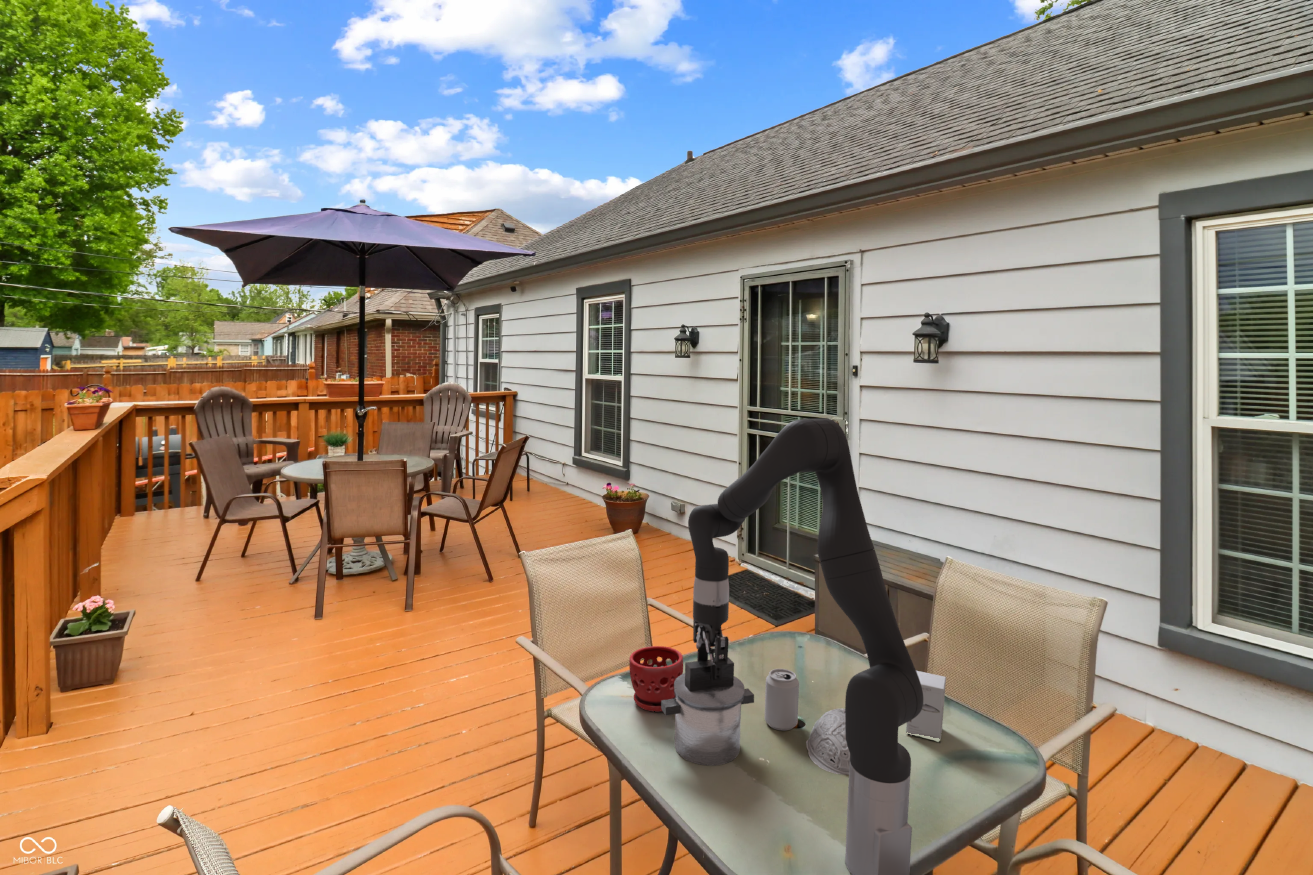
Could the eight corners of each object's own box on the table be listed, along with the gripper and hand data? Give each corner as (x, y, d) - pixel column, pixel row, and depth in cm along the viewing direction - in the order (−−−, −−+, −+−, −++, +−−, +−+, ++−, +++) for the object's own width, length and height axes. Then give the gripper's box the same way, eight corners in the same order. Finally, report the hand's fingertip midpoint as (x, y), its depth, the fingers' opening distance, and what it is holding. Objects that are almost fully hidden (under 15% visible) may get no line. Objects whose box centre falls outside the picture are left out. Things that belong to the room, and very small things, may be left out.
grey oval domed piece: (802, 767, 130) (806, 735, 130) (810, 714, 154) (814, 687, 154) (881, 790, 126) (887, 757, 125) (877, 732, 150) (882, 704, 149)
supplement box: (905, 735, 144) (908, 680, 143) (909, 720, 150) (911, 668, 149) (940, 744, 140) (944, 688, 139) (943, 728, 147) (946, 675, 146)
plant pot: (660, 685, 165) (661, 640, 164) (693, 706, 155) (694, 658, 154) (618, 699, 157) (619, 652, 156) (650, 722, 147) (651, 672, 146)
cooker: (764, 756, 134) (766, 701, 133) (673, 772, 128) (674, 715, 127) (736, 722, 147) (737, 672, 146) (652, 735, 141) (653, 683, 140)
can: (797, 734, 143) (799, 682, 142) (763, 730, 145) (765, 678, 144) (797, 717, 150) (799, 668, 150) (764, 713, 152) (766, 664, 151)
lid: (688, 714, 127) (689, 682, 127) (664, 681, 142) (665, 652, 141) (756, 704, 132) (757, 673, 131) (726, 673, 146) (727, 645, 146)
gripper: (682, 588, 141) (681, 661, 142) (707, 610, 127) (705, 690, 128) (714, 585, 143) (712, 657, 144) (741, 607, 129) (739, 686, 131)
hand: (709, 673), depth 136 cm, fingers open, 7 cm apart
